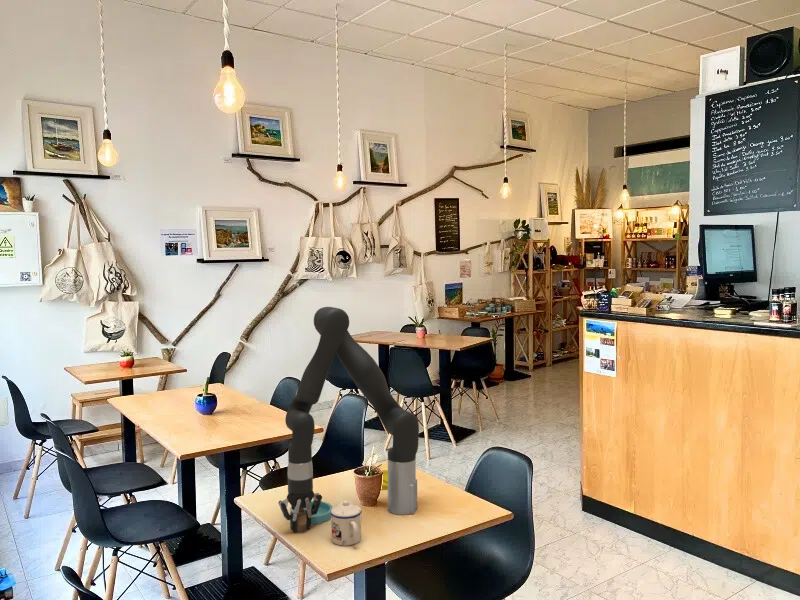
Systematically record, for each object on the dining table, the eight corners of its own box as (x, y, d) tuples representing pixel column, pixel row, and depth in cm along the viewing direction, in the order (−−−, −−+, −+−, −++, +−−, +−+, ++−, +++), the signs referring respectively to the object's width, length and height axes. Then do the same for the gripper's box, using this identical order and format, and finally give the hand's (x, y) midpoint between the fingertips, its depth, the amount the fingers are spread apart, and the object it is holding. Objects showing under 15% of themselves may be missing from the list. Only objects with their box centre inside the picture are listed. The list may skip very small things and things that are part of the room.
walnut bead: (308, 528, 197) (308, 512, 197) (304, 533, 194) (303, 517, 193) (297, 527, 198) (297, 511, 198) (293, 532, 195) (292, 516, 194)
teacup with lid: (326, 536, 192) (325, 498, 191) (354, 530, 196) (353, 493, 195) (341, 553, 181) (341, 513, 180) (370, 546, 185) (370, 507, 184)
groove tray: (338, 509, 212) (338, 502, 212) (323, 526, 198) (323, 519, 198) (300, 506, 215) (299, 499, 215) (283, 522, 202) (282, 515, 202)
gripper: (282, 483, 188) (283, 540, 189) (326, 474, 195) (327, 529, 196) (273, 475, 194) (274, 530, 195) (316, 467, 201) (317, 520, 203)
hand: (300, 529), depth 196 cm, fingers closed on walnut bead, 3 cm apart
